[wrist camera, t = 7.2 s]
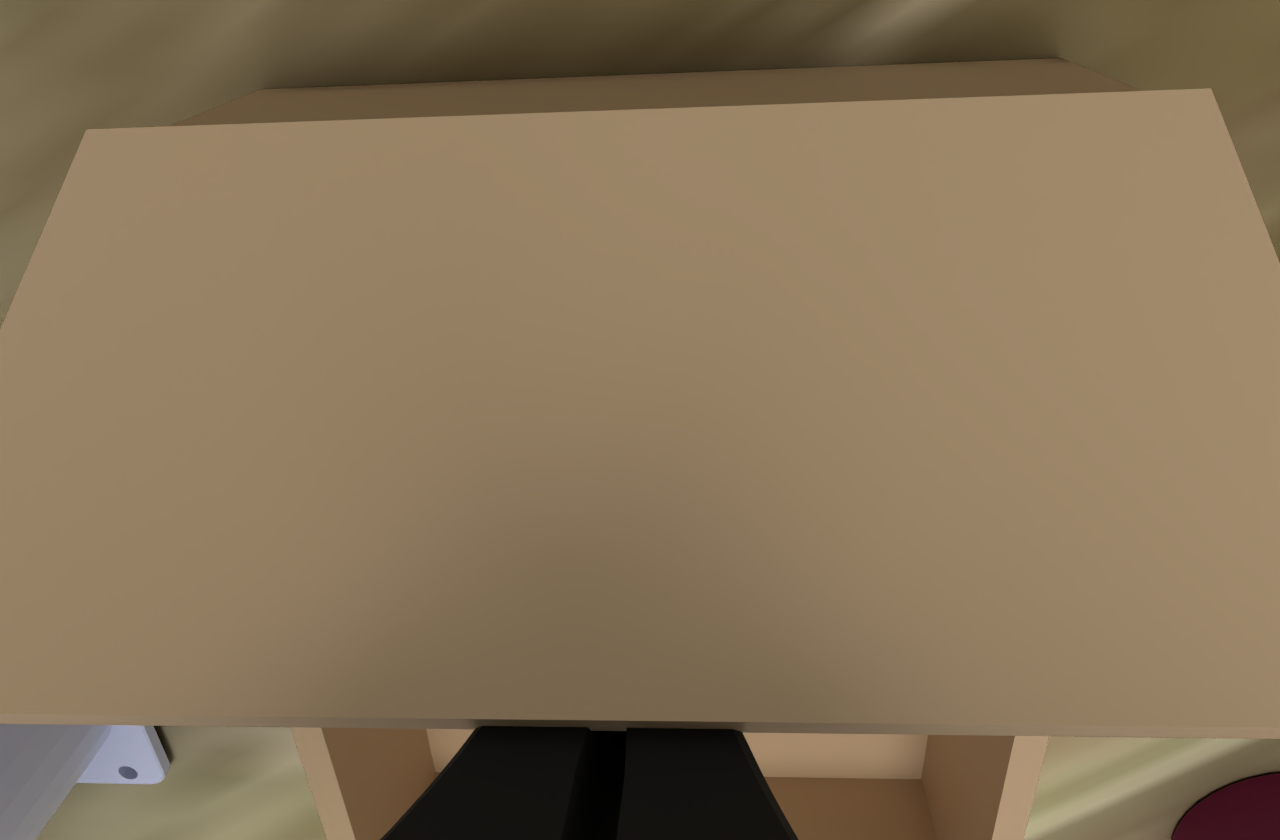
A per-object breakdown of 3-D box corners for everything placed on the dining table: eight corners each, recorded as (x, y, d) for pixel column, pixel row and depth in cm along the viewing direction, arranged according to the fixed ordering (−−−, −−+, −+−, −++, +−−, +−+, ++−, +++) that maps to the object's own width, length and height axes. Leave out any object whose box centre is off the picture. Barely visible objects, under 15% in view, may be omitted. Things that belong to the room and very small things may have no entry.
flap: (-119, 722, 8) (-165, 713, 8) (110, 158, 12) (86, 129, 11) (1417, 739, 7) (1463, 730, 7) (1190, 122, 11) (1211, 88, 10)
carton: (422, 771, 25) (364, 952, 21) (260, 89, 16) (101, 154, 12) (937, 779, 24) (990, 970, 20) (1061, 57, 15) (1204, 116, 11)
